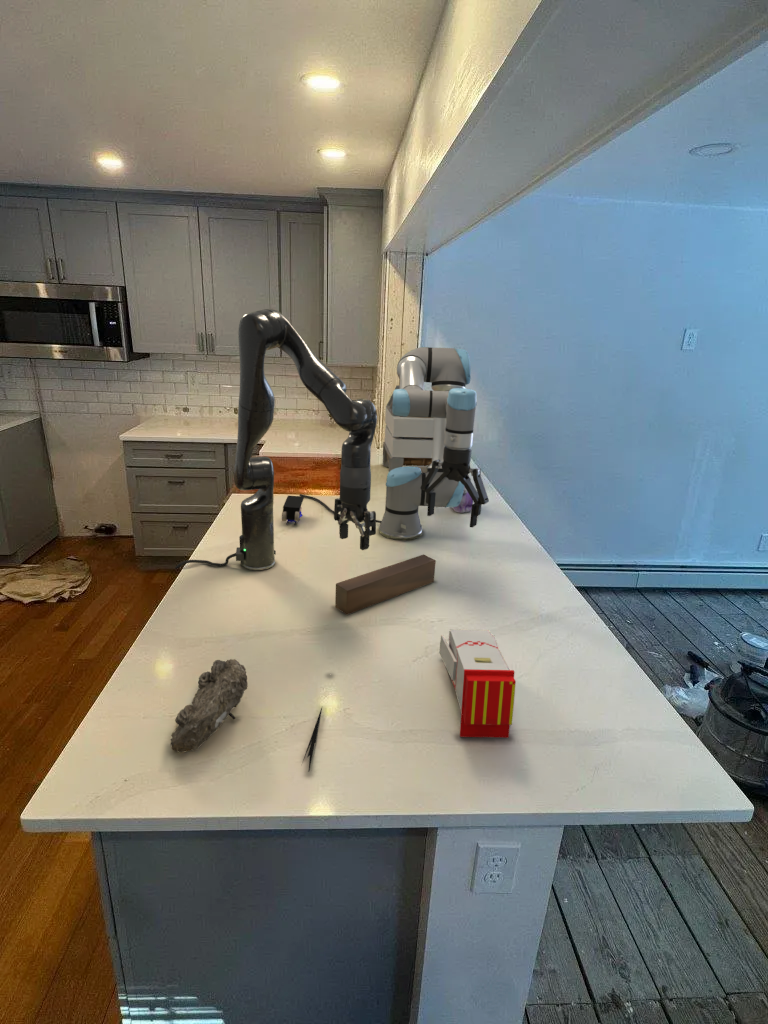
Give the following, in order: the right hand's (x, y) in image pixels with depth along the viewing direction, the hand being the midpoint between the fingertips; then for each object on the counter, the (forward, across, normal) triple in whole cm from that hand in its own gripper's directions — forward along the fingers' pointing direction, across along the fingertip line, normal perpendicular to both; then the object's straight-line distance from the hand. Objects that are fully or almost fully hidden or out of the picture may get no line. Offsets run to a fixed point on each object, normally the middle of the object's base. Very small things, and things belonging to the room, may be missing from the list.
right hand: (451, 520), depth 161 cm
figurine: (+19, -26, +60) cm, 68 cm away
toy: (+19, +29, -42) cm, 55 cm away
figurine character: (+19, -67, +7) cm, 70 cm away
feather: (+19, +10, -68) cm, 71 cm away
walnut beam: (+19, -9, -18) cm, 28 cm away
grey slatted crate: (+19, -66, +93) cm, 116 cm away
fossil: (+19, -6, -80) cm, 82 cm away
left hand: (+1, -12, -30) cm, 32 cm away
